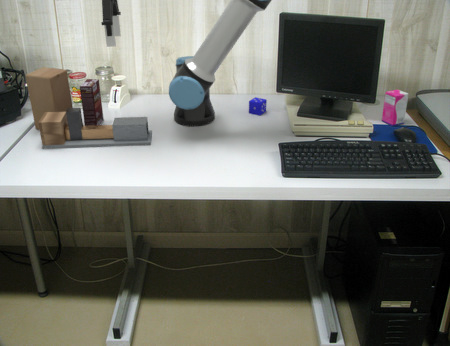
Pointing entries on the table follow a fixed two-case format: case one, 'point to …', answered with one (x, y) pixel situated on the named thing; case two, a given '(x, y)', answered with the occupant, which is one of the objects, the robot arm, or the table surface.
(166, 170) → the table surface
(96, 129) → the brown piece
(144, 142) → the base board
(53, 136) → the socket block
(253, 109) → the die
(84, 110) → the supplement box
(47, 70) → the wooden block
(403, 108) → the supplement box
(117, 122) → the sleeve
